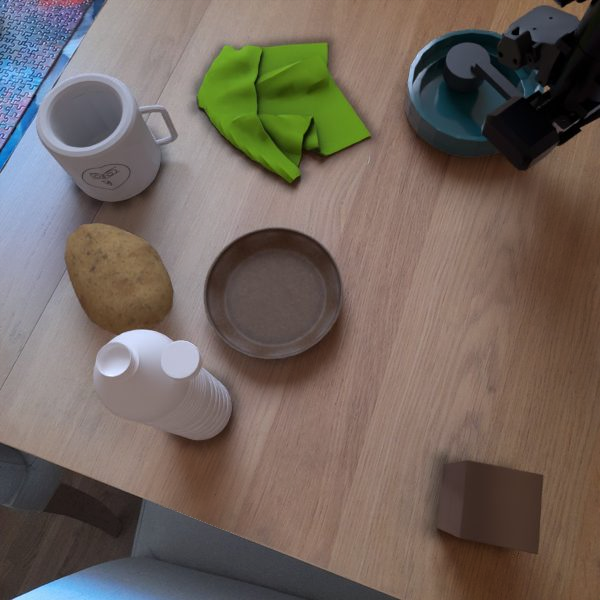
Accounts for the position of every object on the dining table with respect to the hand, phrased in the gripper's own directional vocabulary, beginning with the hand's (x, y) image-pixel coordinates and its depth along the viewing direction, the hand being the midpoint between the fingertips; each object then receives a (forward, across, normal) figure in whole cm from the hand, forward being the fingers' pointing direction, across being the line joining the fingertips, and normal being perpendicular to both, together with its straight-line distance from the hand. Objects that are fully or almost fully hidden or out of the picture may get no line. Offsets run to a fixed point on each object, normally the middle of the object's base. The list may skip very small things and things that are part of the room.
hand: (544, 142), depth 62 cm
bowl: (+4, +1, -10) cm, 11 cm away
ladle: (+1, 0, -7) cm, 8 cm away
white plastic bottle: (+4, +46, +2) cm, 46 cm away
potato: (+4, +46, -15) cm, 49 cm away
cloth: (+4, +19, -24) cm, 31 cm away
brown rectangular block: (+3, +31, +24) cm, 39 cm away
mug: (+4, +38, -29) cm, 48 cm away
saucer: (+4, +34, -4) cm, 34 cm away
